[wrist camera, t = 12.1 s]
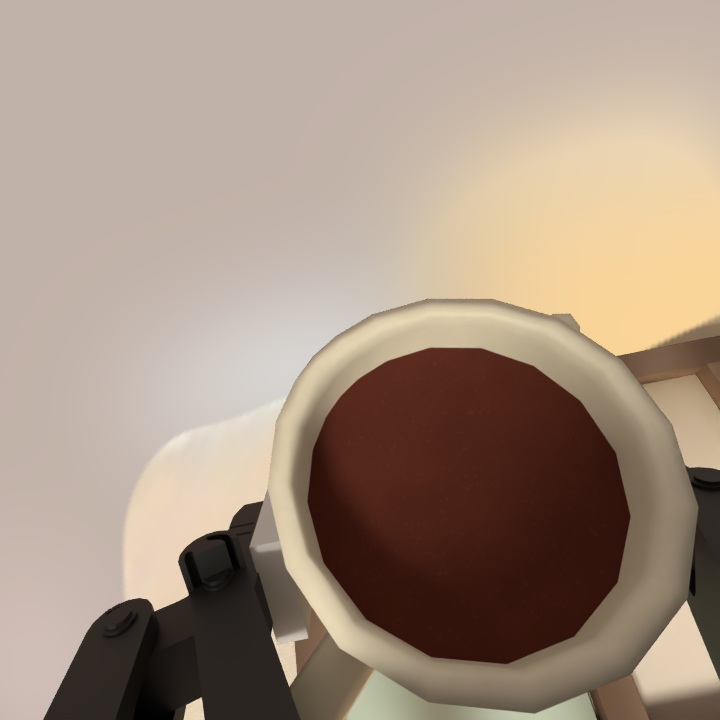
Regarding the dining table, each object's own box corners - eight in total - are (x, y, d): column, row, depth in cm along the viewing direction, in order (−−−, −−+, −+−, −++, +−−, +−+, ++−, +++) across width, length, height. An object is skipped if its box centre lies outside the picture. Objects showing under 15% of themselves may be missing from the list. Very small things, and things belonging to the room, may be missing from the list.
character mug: (433, 414, 22) (455, 198, 11) (572, 501, 19) (793, 331, 8) (286, 614, 18) (86, 596, 7) (434, 759, 15) (496, 1118, 4)
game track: (905, 306, 24) (924, 295, 23) (1284, 665, 15) (1336, 668, 14) (283, 430, 24) (278, 423, 23) (317, 858, 15) (312, 871, 14)
